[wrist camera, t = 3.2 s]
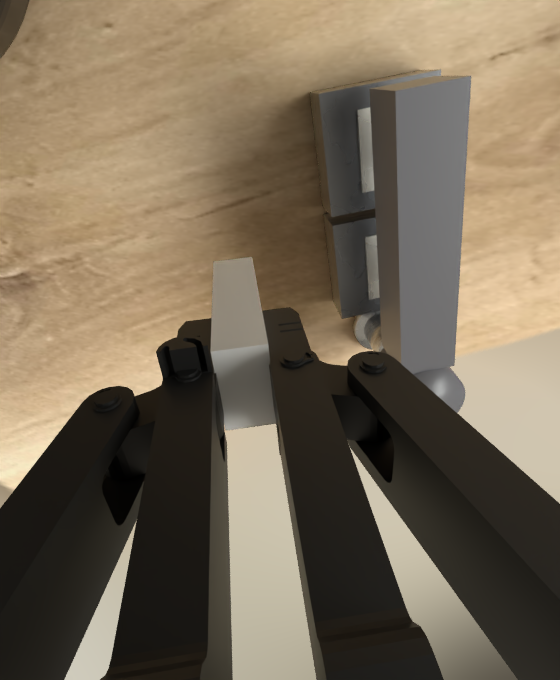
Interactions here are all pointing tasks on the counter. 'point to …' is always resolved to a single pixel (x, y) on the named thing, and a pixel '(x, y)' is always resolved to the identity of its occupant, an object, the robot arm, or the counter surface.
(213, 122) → the counter surface
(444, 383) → the cable arm
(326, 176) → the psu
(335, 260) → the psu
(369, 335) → the pivot post
